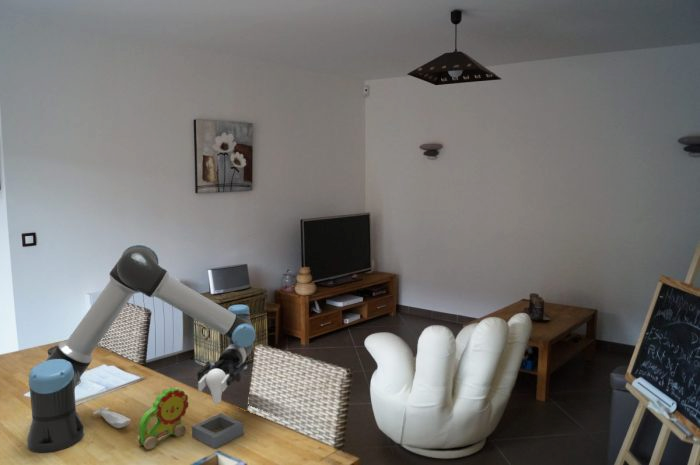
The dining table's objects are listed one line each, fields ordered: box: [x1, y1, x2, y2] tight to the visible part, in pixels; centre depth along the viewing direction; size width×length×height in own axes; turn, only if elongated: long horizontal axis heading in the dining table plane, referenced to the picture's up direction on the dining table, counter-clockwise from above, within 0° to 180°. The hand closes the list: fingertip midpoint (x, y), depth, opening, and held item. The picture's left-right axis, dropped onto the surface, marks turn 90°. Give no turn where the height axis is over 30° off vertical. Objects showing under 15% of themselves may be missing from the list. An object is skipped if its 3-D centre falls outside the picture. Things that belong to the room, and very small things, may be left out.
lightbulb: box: [206, 369, 227, 405], centre depth 164 cm, size 6×6×11 cm
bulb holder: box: [191, 413, 245, 450], centre depth 166 cm, size 11×11×4 cm
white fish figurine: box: [92, 407, 132, 429], centre depth 174 cm, size 6×18×4 cm, turn 50°
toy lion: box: [136, 387, 189, 450], centre depth 163 cm, size 16×5×15 cm, turn 141°
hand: (210, 387), depth 159 cm, fingers closed on lightbulb, 6 cm apart
